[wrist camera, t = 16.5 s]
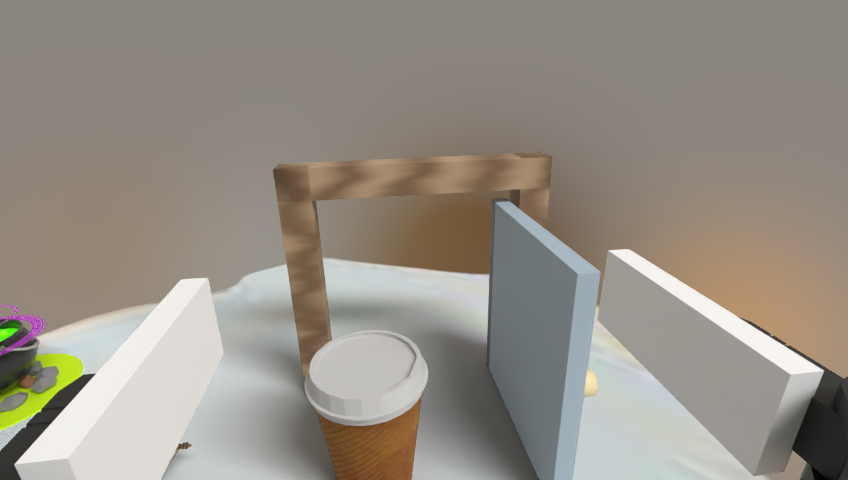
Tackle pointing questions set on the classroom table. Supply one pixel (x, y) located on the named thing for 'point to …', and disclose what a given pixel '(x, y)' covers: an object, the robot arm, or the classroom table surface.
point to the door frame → (383, 179)
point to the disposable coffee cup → (368, 403)
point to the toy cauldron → (29, 371)
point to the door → (540, 336)
